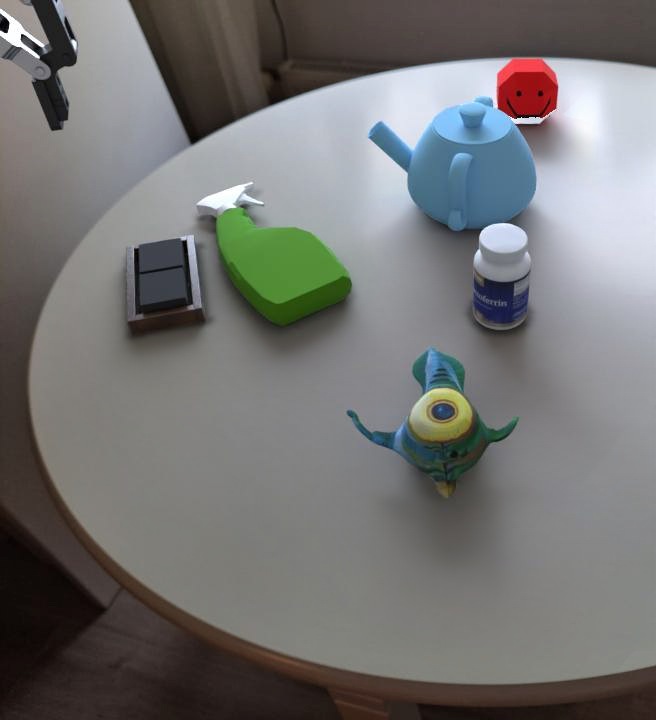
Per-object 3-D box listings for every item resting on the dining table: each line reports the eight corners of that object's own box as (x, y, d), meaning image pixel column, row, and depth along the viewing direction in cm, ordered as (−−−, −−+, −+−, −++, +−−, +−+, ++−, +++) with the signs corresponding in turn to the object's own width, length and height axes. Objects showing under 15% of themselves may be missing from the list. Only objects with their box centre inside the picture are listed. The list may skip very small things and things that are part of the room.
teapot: (523, 260, 90) (530, 162, 81) (351, 239, 93) (339, 141, 84) (543, 166, 104) (551, 73, 95) (393, 150, 106) (386, 57, 97)
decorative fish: (538, 433, 73) (543, 389, 69) (447, 520, 66) (446, 477, 62) (433, 365, 79) (431, 321, 75) (340, 439, 72) (333, 395, 68)
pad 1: (146, 291, 86) (139, 272, 84) (145, 262, 89) (138, 244, 87) (188, 283, 87) (182, 264, 85) (186, 256, 90) (180, 237, 88)
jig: (132, 335, 81) (127, 321, 80) (130, 258, 90) (125, 245, 88) (205, 321, 83) (201, 308, 82) (197, 247, 91) (193, 234, 90)
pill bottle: (461, 317, 84) (461, 240, 77) (492, 288, 87) (495, 212, 80) (507, 340, 82) (512, 263, 74) (537, 309, 85) (544, 232, 78)
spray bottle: (269, 335, 81) (179, 220, 95) (363, 294, 86) (263, 190, 100) (264, 313, 79) (172, 199, 93) (360, 272, 84) (259, 169, 98)
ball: (498, 132, 110) (500, 79, 104) (495, 103, 115) (497, 51, 110) (556, 132, 110) (561, 79, 105) (550, 103, 116) (555, 51, 110)
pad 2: (147, 324, 82) (139, 305, 80) (146, 293, 86) (139, 274, 84) (191, 316, 83) (185, 297, 81) (188, 286, 87) (182, 267, 85)
